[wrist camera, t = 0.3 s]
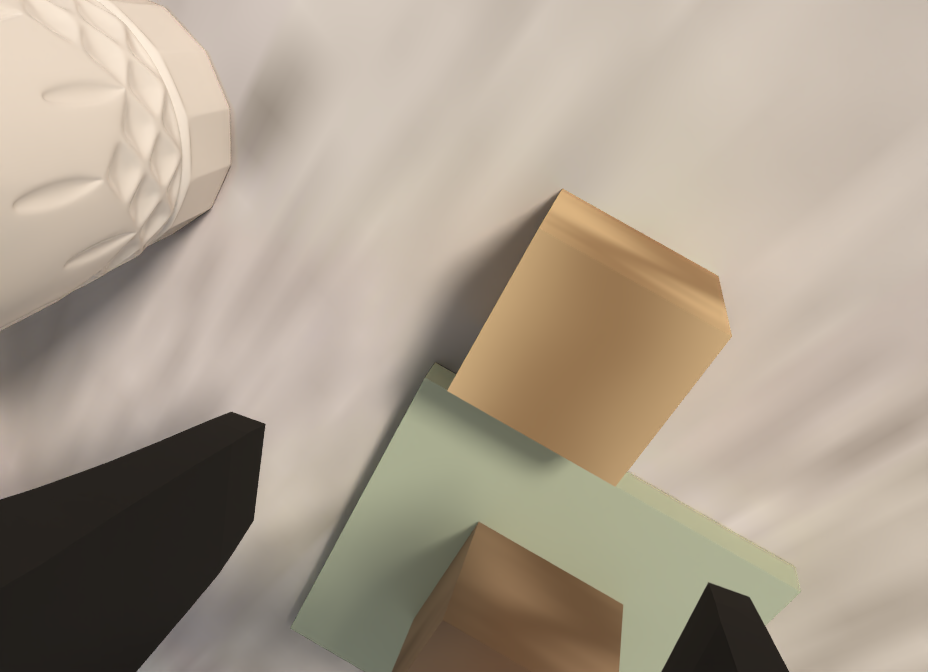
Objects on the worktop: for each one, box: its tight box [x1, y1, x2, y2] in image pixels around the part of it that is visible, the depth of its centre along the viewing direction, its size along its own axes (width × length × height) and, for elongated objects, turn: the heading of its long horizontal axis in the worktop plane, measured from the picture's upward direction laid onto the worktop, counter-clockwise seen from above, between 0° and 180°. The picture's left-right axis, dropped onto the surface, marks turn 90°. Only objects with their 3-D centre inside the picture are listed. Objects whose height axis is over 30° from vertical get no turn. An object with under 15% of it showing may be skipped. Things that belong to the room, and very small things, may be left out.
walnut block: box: [392, 522, 623, 672], centre depth 21 cm, size 5×5×4 cm
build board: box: [290, 363, 801, 672], centre depth 23 cm, size 12×12×1 cm
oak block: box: [447, 189, 732, 487], centre depth 17 cm, size 4×4×4 cm
